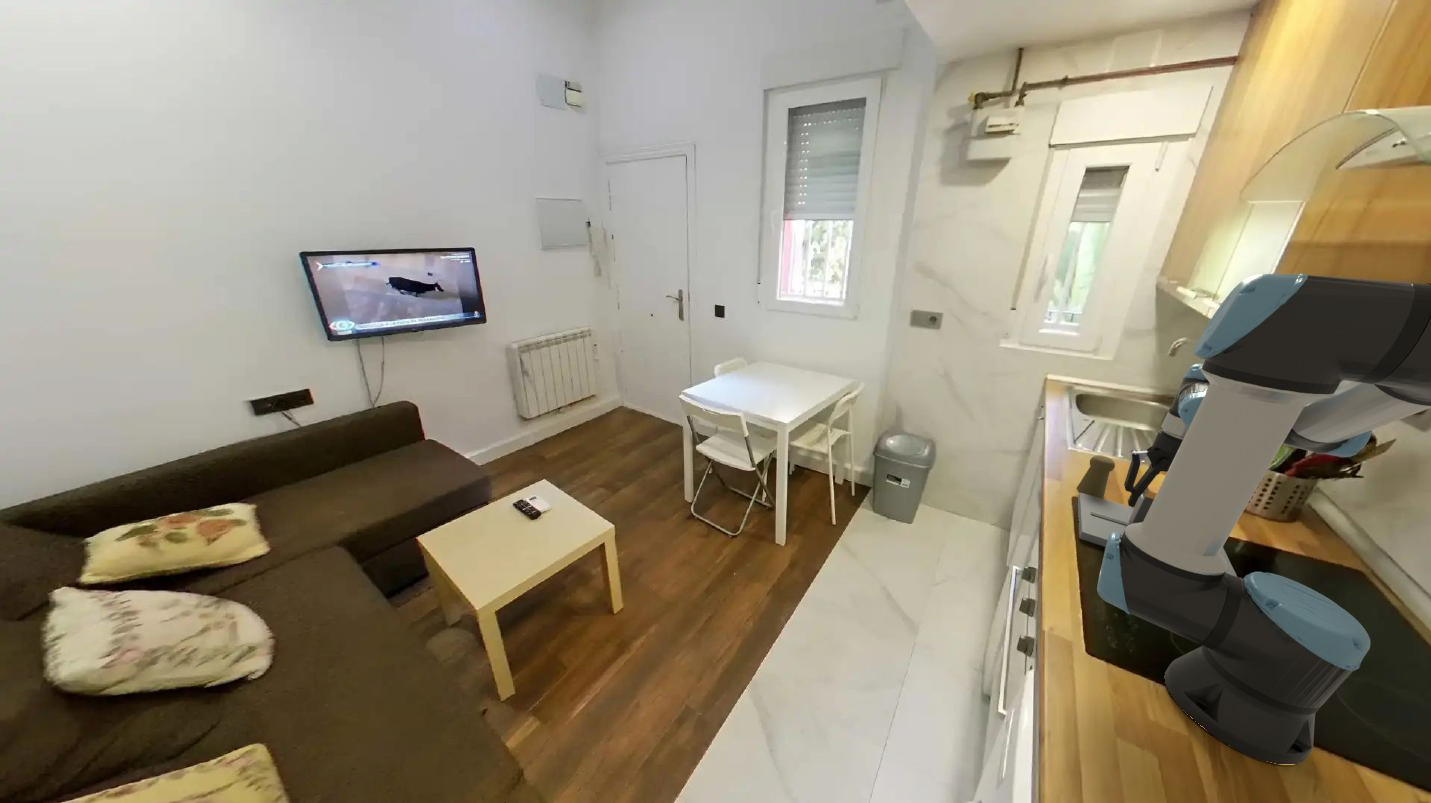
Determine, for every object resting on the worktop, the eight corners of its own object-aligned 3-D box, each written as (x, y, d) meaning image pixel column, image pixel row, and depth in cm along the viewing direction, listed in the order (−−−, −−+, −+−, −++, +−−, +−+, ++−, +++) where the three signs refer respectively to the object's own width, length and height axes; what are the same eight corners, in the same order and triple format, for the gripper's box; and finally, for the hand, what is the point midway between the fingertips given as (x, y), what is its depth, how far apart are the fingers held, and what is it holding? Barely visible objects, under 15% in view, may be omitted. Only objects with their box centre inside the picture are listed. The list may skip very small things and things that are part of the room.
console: (1235, 589, 92) (1240, 581, 91) (1079, 538, 106) (1082, 530, 105) (1211, 537, 107) (1215, 529, 106) (1077, 498, 121) (1080, 491, 120)
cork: (1108, 499, 120) (1124, 465, 116) (1083, 496, 121) (1098, 462, 117) (1096, 487, 126) (1110, 453, 121) (1072, 484, 127) (1085, 451, 122)
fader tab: (1147, 532, 104) (1166, 495, 100) (1130, 527, 106) (1148, 490, 101) (1144, 524, 107) (1163, 487, 103) (1128, 519, 109) (1146, 483, 104)
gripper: (1231, 438, 95) (1183, 525, 104) (1132, 418, 103) (1096, 501, 113) (1242, 452, 89) (1190, 543, 99) (1137, 430, 98) (1098, 516, 107)
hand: (1140, 520), depth 106 cm, fingers closed on fader tab, 3 cm apart
